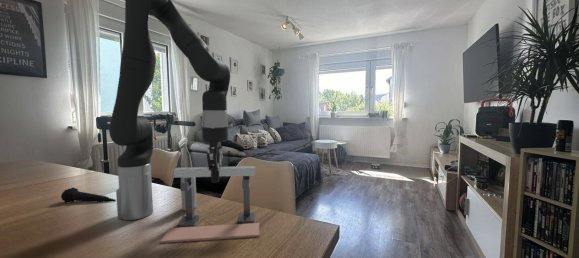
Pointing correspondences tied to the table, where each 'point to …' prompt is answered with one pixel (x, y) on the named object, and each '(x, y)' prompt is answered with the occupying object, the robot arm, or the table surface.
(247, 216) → the hook standards
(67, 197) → the microphone
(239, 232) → the felt mat
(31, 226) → the table surface
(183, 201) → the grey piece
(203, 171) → the steel rail
